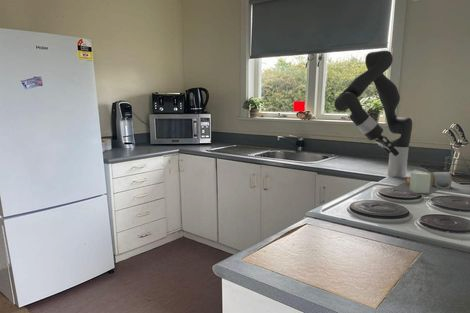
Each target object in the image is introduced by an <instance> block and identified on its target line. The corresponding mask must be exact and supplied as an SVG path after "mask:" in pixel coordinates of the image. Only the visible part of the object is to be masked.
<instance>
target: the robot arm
mask: <svg viewBox="0 0 470 313" xmlns="http://www.w3.org/2000/svg"><path fill="white" fill-rule="evenodd" d="M393 61H394V60H393V54H392V52H391V51H390V50H378V51H371V52H368V53H367V54H366V55H365V62H364V63H365V67H366V69H367V70H366V71H364V72H362V73H360V74H359V75H358V76H356V77H355V78H354V79H353V80H352V81H351V82H350V84H348V87H346V88H345V89H344V91H343V92H342V93H340V94H339V95H338V96H337V97H336V99H335V100H334V105H333V106H334V108H335V110H337V111H338V112H345V111H347V110H349V111H350V112H351V113H350V114H349V119H350V120H351V121H352V122H353V124H354V125H355V126H356V127H357V128H358V129H359V131H360V132H361V133H362V134H363V135H364V136H365V137H366V138H367V139H368V140H369V141H375V143H377V145H378V146H379V147H380V148H382V149H384V151H385V152H386V153H388V154H389V155H388V167H387V168H388V169H387V177H388V178H389V177H390V178H402V179H403V178H405V179H406V178H407V176H406V175H407V169H408V168H407V167H408V159H409V157H408V156H409V147H410V143H411V137H412V131H413V121H412V118H410V117H406V116H405V117H401V116H397V115H396V114H397V113H396V110H397V107H398V106H399V103H400V100H401V96H400V93H399V89H398V87H397V85H396V84H395V82H393V81H392V80H390V79H389V77H387V76H386V75H385V74H384V73H386V71H387V70H388V69H390V68H391V66H392V64H393ZM372 83H373V84H374V86H375V88H376V91H377V94H378V98H379V100H380V103H381V105H382V107H383V111H384V114H385V117H386V118H385V119H386V122H387V127H388V130H389V131H390V133H392V134H395V135H396V134H397V135H400V136H399V137H398V138H397V139H393V140H391V141H390V139H388V137H387V136H385V135H384V134H382V133H383V132H384V129H383V127H382V126H381V125H380V124H379V123H378V122H377V121H376V120H375V119H374V118H373V117H371V116H370V115H369V114H368V112H367V111H366V110H365V109H364V108H363V106H362V103H361V102H360V100H359V99H358V98H359V97H360V96H362V94H363V93H364V92H365V91H366V90H367V89H368V87H369V86H370V85H371V84H372Z"/></svg>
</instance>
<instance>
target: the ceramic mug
mask: <svg viewBox="0 0 470 313" xmlns="http://www.w3.org/2000/svg"><path fill="white" fill-rule="evenodd" d="M430 174H431V179H430V187H435V188H440V189H439V190H441V189H442V190H448V189H450V188H451V187H452V186H451V185H452V178H453V177H452V175H451V173H450V172H449V171H441V172H440V171H439V172H438V171H435V172H430Z"/></svg>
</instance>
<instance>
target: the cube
mask: <svg viewBox="0 0 470 313" xmlns="http://www.w3.org/2000/svg"><path fill="white" fill-rule="evenodd" d="M410 178H411V176H406V182H405V183H406V185H408V186H409V187H410Z"/></svg>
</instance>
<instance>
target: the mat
mask: <svg viewBox="0 0 470 313" xmlns="http://www.w3.org/2000/svg"><path fill="white" fill-rule="evenodd" d="M406 183H407V182H403V183H401V184H399V185H398V184H397V185H395V186H393V187H389V190H395V191H399V192H405V193H410V194H416V195H420V196H424V197H428V196H430V195H431V194H434V193H435V192H438V191H439V190H441V189H440V188H437V187H435V186H430V188H429V193H415V192H413V191H411V190H410V189H409V188H410V187H409V186H408V185H406Z"/></svg>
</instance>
